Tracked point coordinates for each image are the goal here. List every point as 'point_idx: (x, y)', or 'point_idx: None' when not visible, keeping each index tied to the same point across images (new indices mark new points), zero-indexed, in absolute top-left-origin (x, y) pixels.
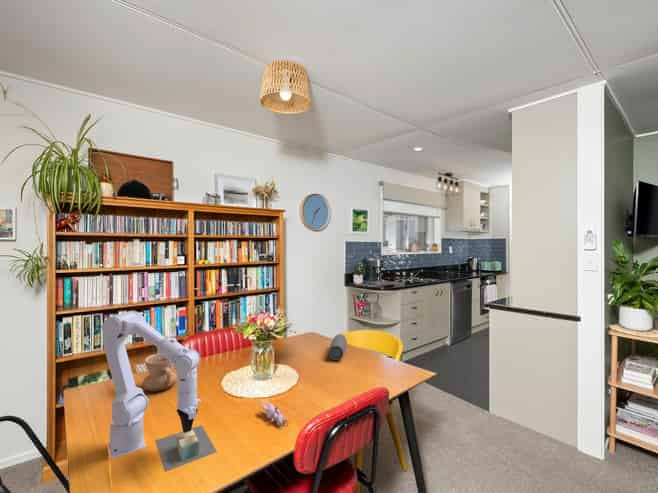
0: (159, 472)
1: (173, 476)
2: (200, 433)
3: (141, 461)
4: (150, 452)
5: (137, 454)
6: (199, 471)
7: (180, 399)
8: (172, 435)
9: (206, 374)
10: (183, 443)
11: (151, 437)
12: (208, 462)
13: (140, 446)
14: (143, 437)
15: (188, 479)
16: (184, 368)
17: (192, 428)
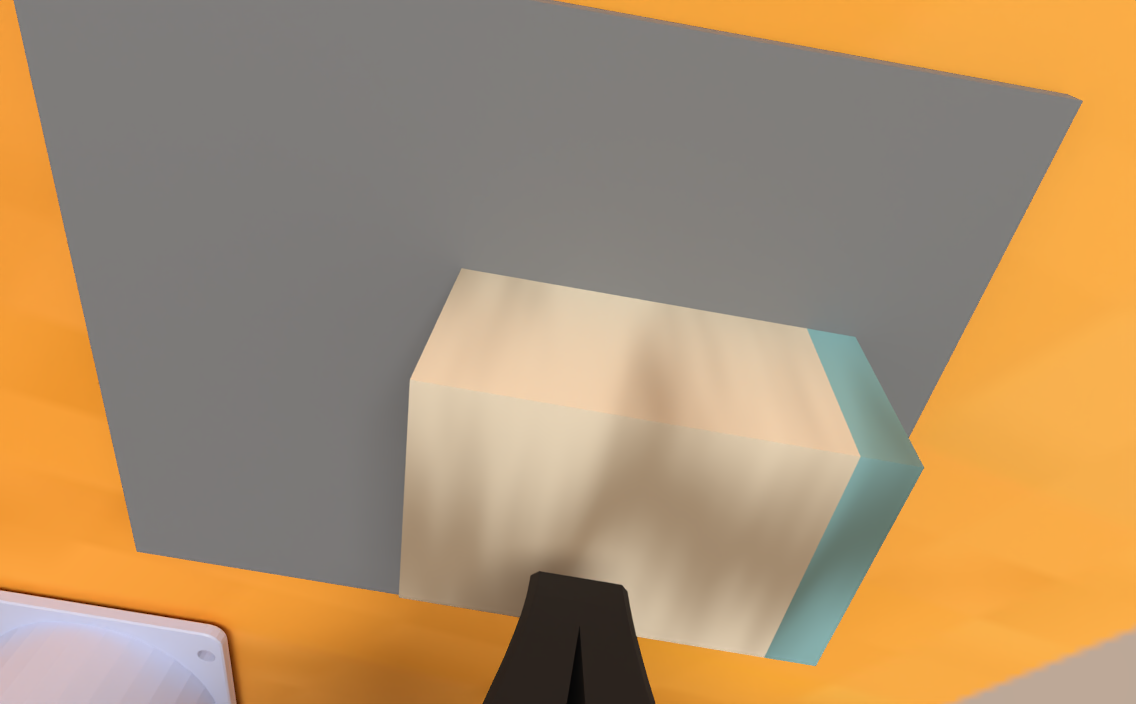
0: (726, 660)
1: (907, 616)
2: (300, 68)
3: (431, 690)
4: (332, 615)
5: (291, 679)
6: (1129, 442)
7: None
8: (121, 400)
9: None
10: (718, 619)
11: (26, 534)
12: (1106, 295)
13: (187, 661)
14: (14, 605)
15: (1109, 557)
16: None
17: (45, 108)
